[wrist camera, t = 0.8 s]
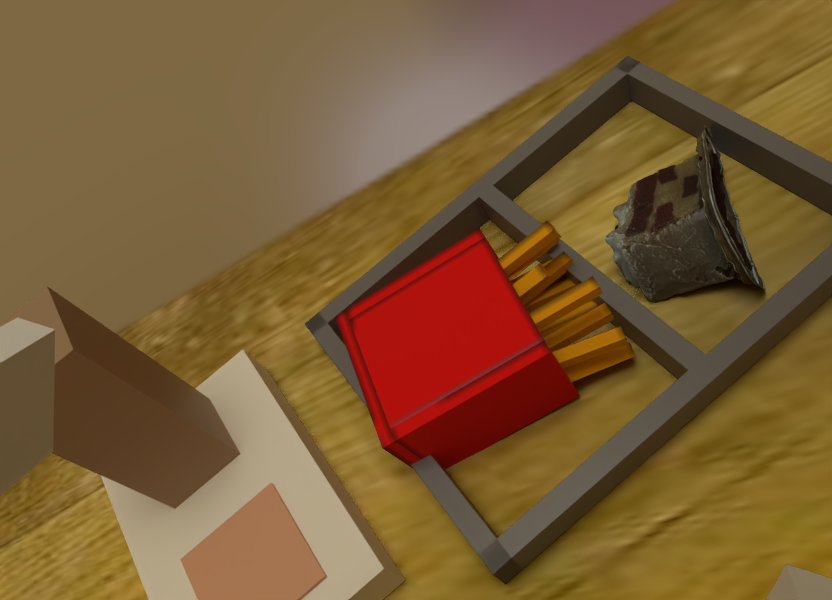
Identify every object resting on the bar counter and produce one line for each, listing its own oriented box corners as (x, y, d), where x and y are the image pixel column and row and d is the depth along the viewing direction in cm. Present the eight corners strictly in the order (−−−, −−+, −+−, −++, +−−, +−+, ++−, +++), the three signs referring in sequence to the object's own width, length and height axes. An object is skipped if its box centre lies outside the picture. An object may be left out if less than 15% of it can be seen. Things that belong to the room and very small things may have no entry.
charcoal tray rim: (631, 82, 52) (627, 55, 50) (902, 232, 40) (911, 204, 38) (321, 341, 50) (304, 323, 48) (505, 584, 38) (492, 574, 36)
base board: (266, 368, 50) (95, 225, 37) (405, 580, 40) (234, 485, 26) (128, 482, 50) (-98, 378, 36) (231, 731, 39) (-37, 714, 25)
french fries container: (382, 362, 48) (568, 252, 46) (430, 483, 43) (643, 365, 41) (329, 315, 43) (536, 188, 41) (376, 448, 37) (618, 309, 35)
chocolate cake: (606, 168, 50) (561, 195, 39) (709, 121, 46) (689, 137, 36) (662, 294, 50) (632, 353, 40) (768, 257, 47) (765, 312, 37)
